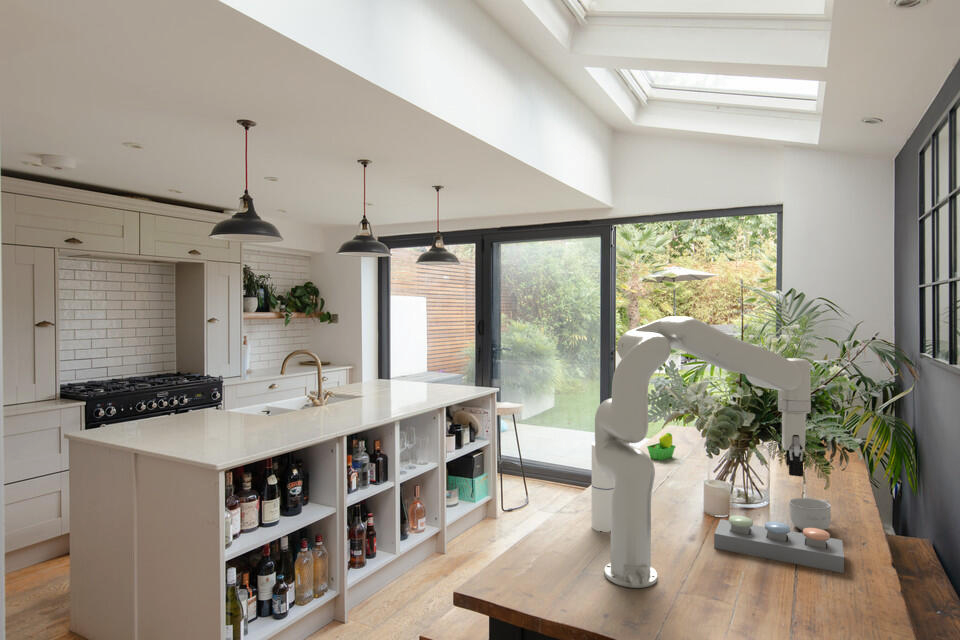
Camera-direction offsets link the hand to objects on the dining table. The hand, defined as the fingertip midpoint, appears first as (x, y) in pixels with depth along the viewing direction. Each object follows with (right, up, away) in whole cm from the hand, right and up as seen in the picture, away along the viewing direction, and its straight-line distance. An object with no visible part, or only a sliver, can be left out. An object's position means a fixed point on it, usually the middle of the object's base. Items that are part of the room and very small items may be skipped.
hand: (794, 470), depth 152 cm
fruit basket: (-4, -20, +98) cm, 101 cm away
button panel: (-3, -23, +3) cm, 23 cm away
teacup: (+16, -23, +19) cm, 34 cm away
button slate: (-3, -20, +3) cm, 20 cm away
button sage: (-11, -20, +8) cm, 24 cm away
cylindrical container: (-46, -23, +21) cm, 55 cm away
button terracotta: (+5, -20, -1) cm, 20 cm away
